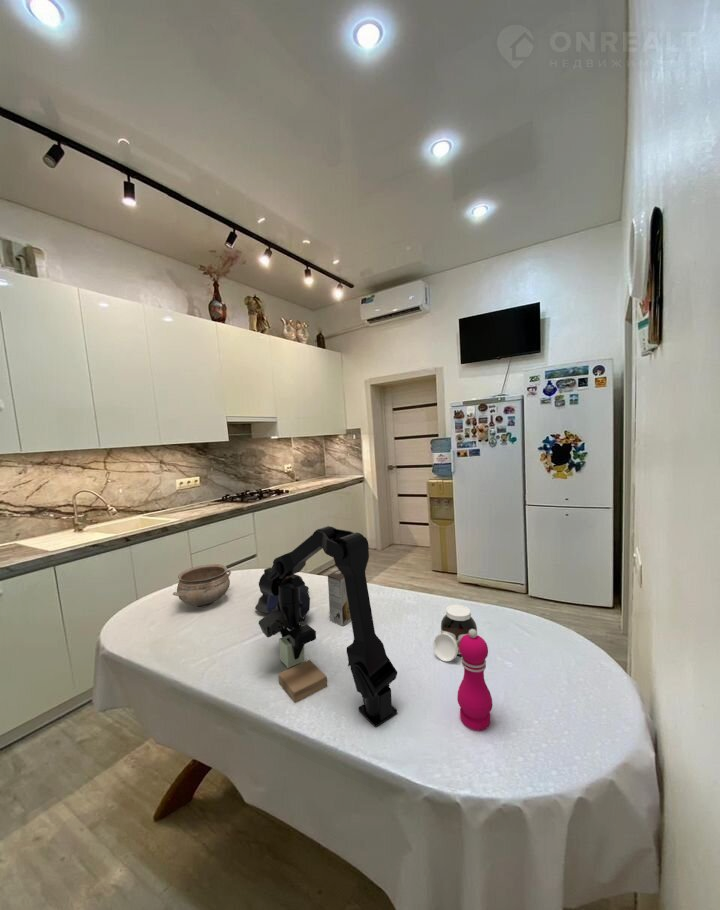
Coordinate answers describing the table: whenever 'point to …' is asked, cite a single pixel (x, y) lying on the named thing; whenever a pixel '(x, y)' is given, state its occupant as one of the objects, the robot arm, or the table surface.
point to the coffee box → (338, 599)
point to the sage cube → (289, 653)
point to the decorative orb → (303, 598)
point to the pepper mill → (474, 683)
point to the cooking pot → (203, 584)
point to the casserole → (263, 599)
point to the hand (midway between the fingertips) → (292, 654)
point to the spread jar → (453, 632)
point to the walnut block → (302, 680)
